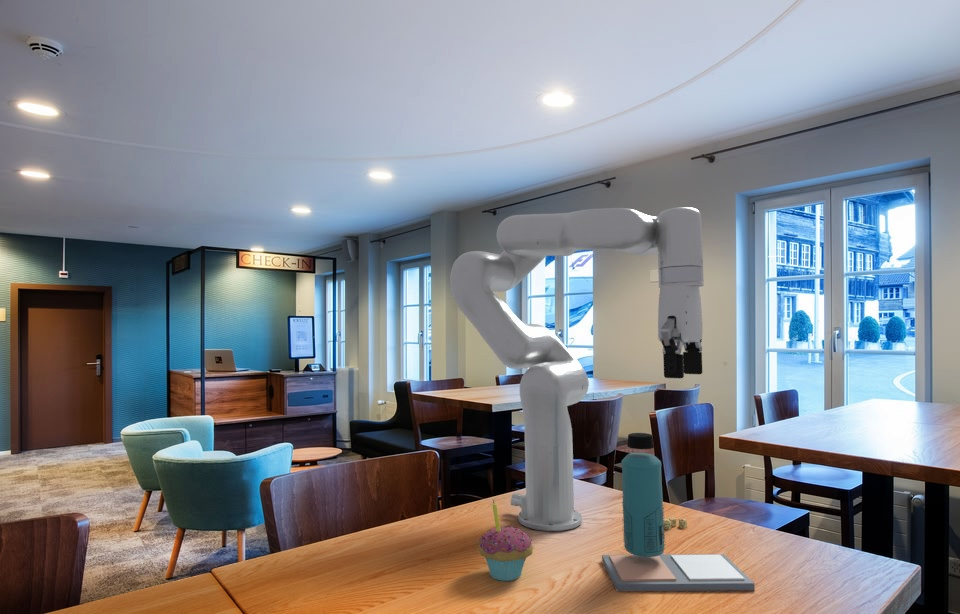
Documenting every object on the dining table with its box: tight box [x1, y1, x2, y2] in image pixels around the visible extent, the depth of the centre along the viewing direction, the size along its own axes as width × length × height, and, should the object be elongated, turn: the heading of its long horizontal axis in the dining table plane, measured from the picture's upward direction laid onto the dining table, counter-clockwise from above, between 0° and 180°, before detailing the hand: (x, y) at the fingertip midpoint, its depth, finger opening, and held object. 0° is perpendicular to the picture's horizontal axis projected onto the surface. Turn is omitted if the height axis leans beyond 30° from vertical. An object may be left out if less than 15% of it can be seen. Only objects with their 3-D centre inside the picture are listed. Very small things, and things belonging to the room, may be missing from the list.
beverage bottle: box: [621, 432, 666, 557], centre depth 93 cm, size 6×7×20 cm
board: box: [601, 553, 756, 592], centre depth 90 cm, size 20×11×1 cm, turn 89°
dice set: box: [663, 517, 688, 530], centre depth 113 cm, size 5×5×2 cm
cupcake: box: [478, 498, 534, 582], centre depth 91 cm, size 9×8×12 cm
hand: (683, 375), depth 102 cm, fingers open, 9 cm apart
